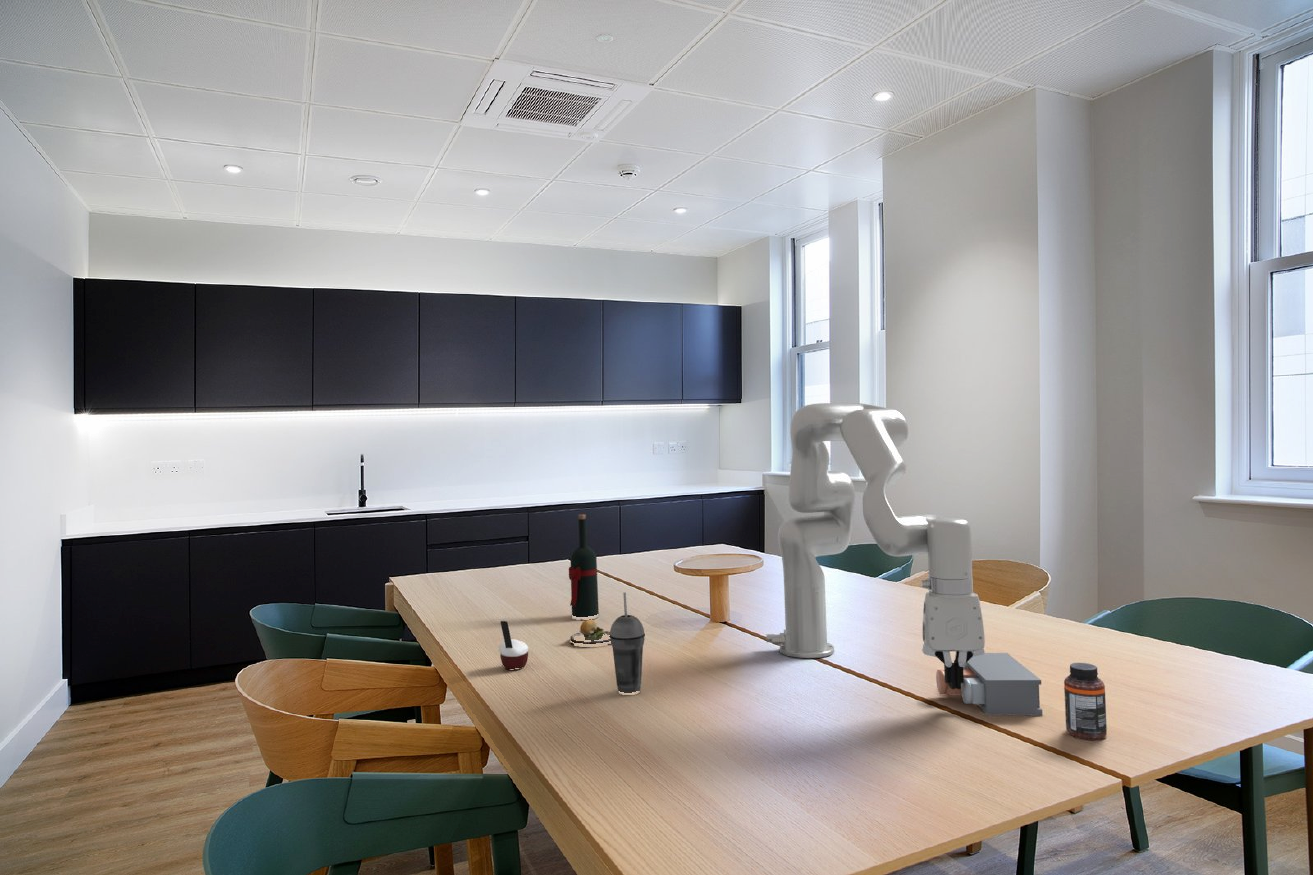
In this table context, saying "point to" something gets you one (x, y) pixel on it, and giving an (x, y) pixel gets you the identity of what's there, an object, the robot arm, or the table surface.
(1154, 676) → the table surface
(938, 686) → the plug terracotta
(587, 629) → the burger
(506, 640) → the cocoa
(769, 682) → the table surface
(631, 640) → the beverage cup
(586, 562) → the wine bottle
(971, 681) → the plug near
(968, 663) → the socket block
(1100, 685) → the supplement bottle
